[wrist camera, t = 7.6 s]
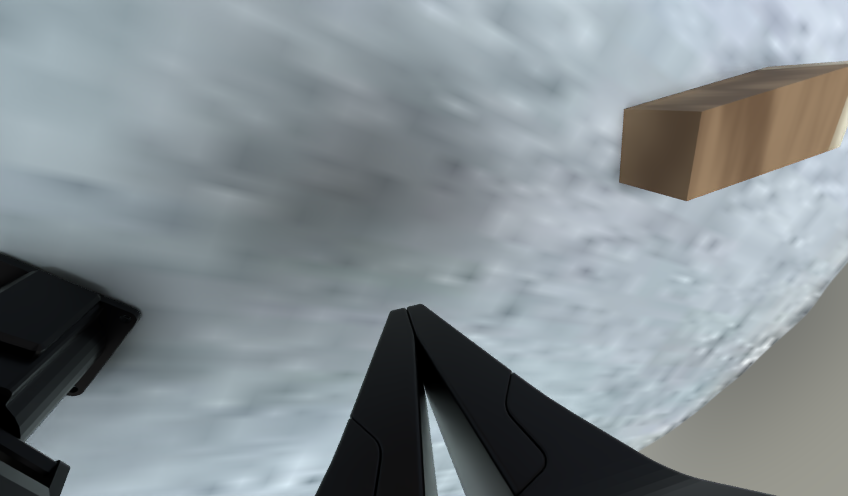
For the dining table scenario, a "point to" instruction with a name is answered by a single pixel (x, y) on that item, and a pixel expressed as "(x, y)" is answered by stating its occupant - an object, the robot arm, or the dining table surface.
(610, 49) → the dining table surface
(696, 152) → the walnut block
